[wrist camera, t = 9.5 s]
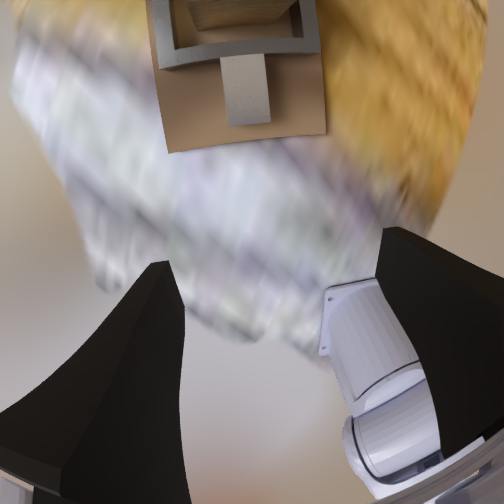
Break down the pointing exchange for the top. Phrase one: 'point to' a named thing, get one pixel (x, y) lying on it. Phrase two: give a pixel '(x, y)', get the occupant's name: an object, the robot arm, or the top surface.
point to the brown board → (236, 77)
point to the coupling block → (235, 12)
